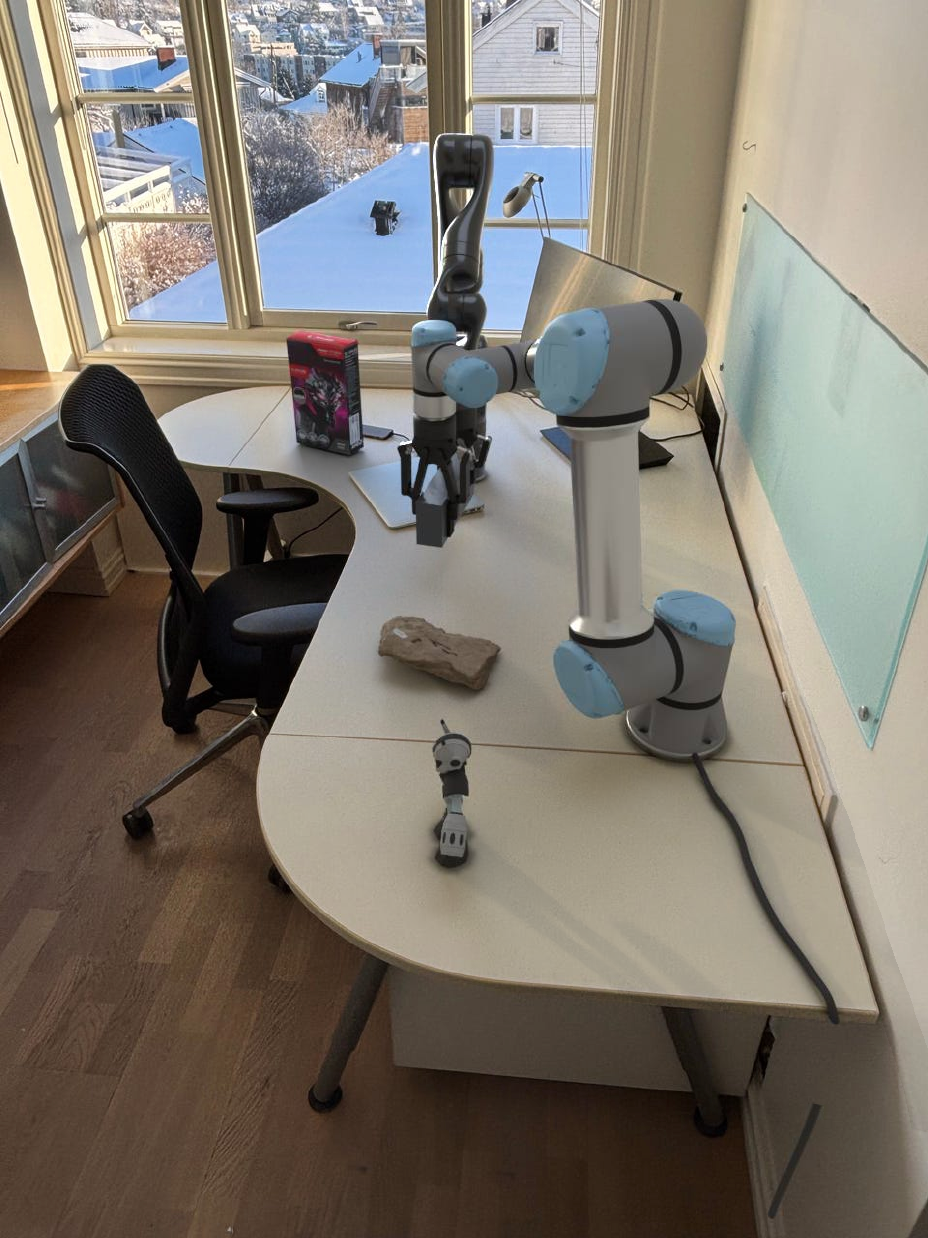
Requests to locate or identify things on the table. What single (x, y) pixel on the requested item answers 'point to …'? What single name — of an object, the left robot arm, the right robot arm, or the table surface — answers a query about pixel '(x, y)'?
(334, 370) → the graphics card box
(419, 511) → the bar
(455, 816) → the robot
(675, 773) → the table surface
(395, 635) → the stone
